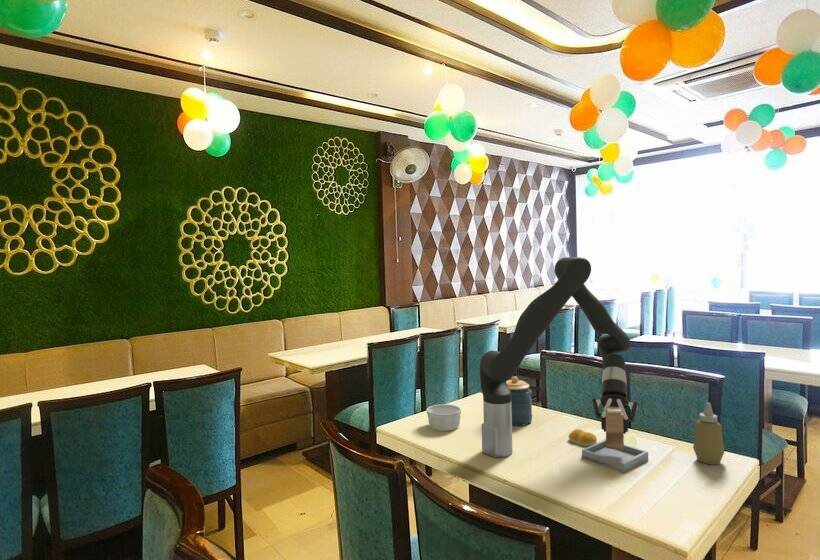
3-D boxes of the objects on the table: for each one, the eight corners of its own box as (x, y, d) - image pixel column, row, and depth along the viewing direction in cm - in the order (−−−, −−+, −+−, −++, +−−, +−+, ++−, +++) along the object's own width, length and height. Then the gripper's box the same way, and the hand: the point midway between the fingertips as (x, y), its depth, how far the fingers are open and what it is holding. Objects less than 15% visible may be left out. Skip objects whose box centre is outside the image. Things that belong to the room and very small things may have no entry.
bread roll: (589, 449, 156) (589, 437, 156) (565, 441, 163) (565, 430, 162) (601, 442, 161) (601, 431, 161) (577, 435, 168) (577, 424, 168)
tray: (624, 472, 137) (624, 464, 137) (582, 457, 149) (581, 449, 149) (648, 459, 146) (648, 451, 146) (606, 446, 157) (606, 439, 157)
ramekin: (420, 429, 178) (420, 411, 178) (437, 419, 189) (436, 402, 189) (451, 435, 171) (451, 416, 171) (467, 424, 182) (466, 406, 182)
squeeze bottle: (721, 458, 146) (721, 400, 145) (726, 468, 138) (726, 408, 138) (691, 454, 149) (691, 398, 148) (695, 464, 142) (694, 405, 141)
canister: (523, 428, 176) (522, 382, 175) (492, 422, 184) (492, 377, 184) (537, 419, 186) (537, 375, 186) (508, 413, 194) (507, 371, 194)
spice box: (623, 450, 144) (623, 411, 143) (606, 448, 146) (605, 410, 146) (623, 444, 148) (622, 407, 148) (606, 442, 150) (605, 405, 150)
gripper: (590, 376, 156) (589, 423, 146) (638, 379, 150) (640, 428, 140) (591, 388, 161) (590, 434, 151) (637, 391, 155) (640, 439, 145)
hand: (614, 431), depth 145 cm, fingers closed on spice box, 5 cm apart
